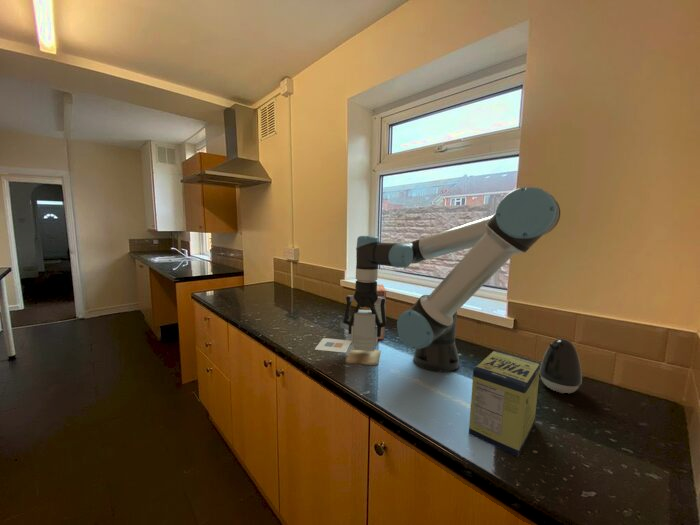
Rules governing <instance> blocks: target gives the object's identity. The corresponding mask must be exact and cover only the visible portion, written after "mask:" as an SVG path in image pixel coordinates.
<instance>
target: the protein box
mask: <svg viewBox="0 0 700 525" xmlns="http://www.w3.org/2000/svg"><path fill="white" fill-rule="evenodd" d="M540 366H541V362H539V361H536V360H532V359H529V358H525V357H521V356H519V355H518V356H517V355H514V354H510V353H507V352H503V351H500V350H496V349H494V350H493V351H492V352H491V353H490V354H488V355H487V357H485V358H484V359H483V360H481V362H479V364H477V365H476V366H475V367H474V368H473V372H472V383H471V384H472V385H471V386H472V387H471V400H470V401H471V402H470V412H469V424H468V425H469V427H468V434H469V435H470V434H471V435H470V436H472V437H475V438H477V439H479V440H480V441H484V442H485V443H488V444H489V443H490V445H492V446H494V447H496V448H498V447H499V449H500V448H501V449H500V450H503V451H504V450H505V451H504V452H507V453H509V454H511V455H513V456H515V457H517V456H518V457H517V458H519V457H520V454H521V453H522V450H523V448H524V447H525V445H526V442H527V440H528V438H529V437H530V434H531V432H532V430H533V428H534V425H535V423H536V422H535V421H536V412H537V401H538V390H539V382H540V373H539V372H540Z"/></svg>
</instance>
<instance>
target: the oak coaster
mask: <svg viewBox="0 0 700 525" xmlns="http://www.w3.org/2000/svg"><path fill="white" fill-rule="evenodd" d="M381 352H382V351H381V350H379V349H374V351H364V350H354V347H351V348H350V350H349V353H348V354H347V357H346V358H345V362H346V363H349V364H351V363H352V364H358V365H359V364H360V365H368V366H379V362H380V358H381Z"/></svg>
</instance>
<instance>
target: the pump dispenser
mask: <svg viewBox="0 0 700 525" xmlns="http://www.w3.org/2000/svg"><path fill="white" fill-rule="evenodd" d="M582 374H583V373H582V365H581V360H580V356H579V354H578V350H577V348H576V347H575V345H574V344H573V342H571V341H570V340H569V339H566V338H557V339H554V340H553V341H552V342H551V343H550V344H549V345H548V347H547V349H546V351H545V352H544V355H543V356H542V359H541V362H540V372H539V376H540V378H541V381H542V383H543V384H544V385H545V386H546V387H547V388H548V389H549V388H550V389H549V390H551V391H554V392H555V391H556V393H558V392H559V394H564V393H568V394H572V393H575V392H576V391H577V390H578V389H579V388H580V386H581V385H582V383H583V376H582Z"/></svg>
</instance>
